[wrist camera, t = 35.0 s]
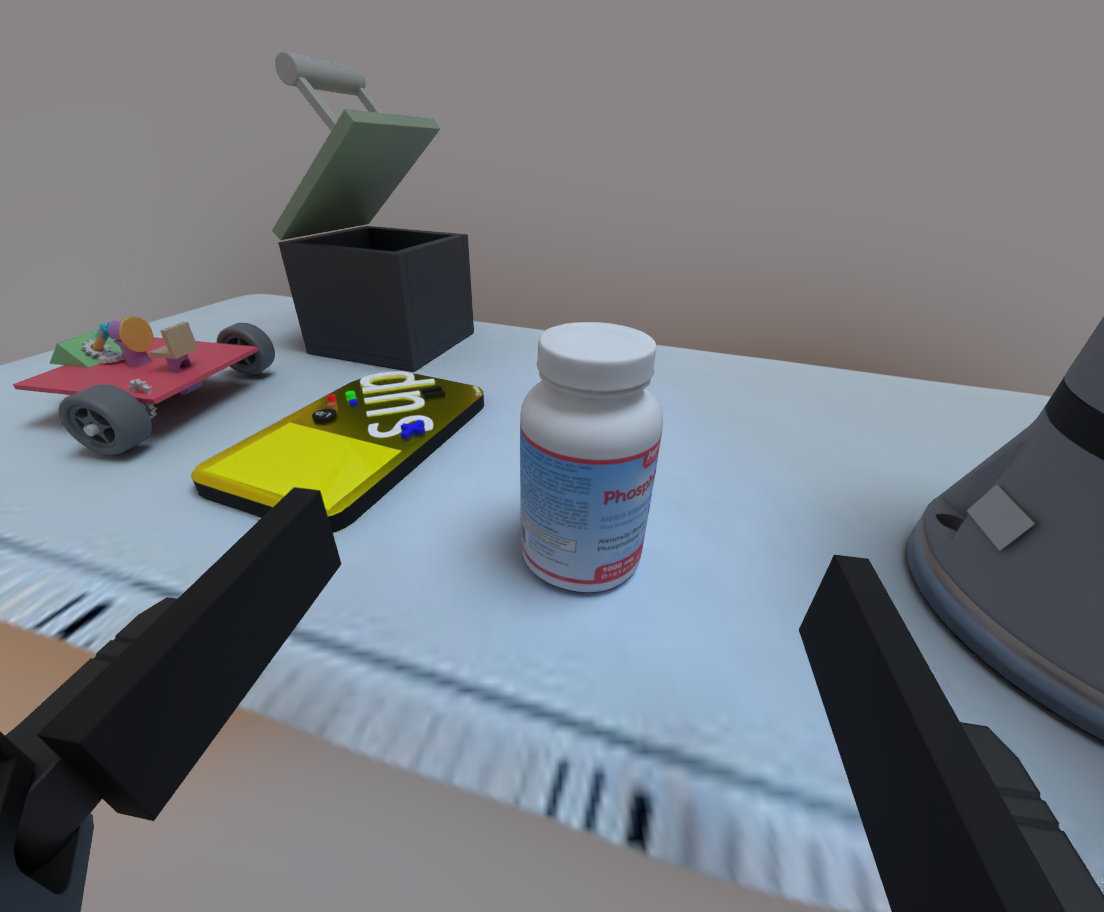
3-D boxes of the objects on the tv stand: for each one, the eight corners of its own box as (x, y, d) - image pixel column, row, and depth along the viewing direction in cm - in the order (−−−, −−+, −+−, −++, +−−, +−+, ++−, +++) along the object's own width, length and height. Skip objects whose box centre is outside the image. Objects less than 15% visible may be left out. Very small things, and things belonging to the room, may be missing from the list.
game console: (338, 542, 25) (332, 520, 24) (181, 493, 28) (171, 472, 27) (491, 400, 39) (490, 383, 38) (377, 378, 42) (374, 362, 41)
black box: (474, 332, 53) (468, 234, 48) (413, 372, 44) (397, 254, 38) (382, 319, 56) (366, 225, 51) (306, 353, 47) (277, 242, 41)
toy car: (137, 466, 30) (83, 364, 26) (-22, 446, 31) (-95, 347, 28) (286, 373, 43) (263, 295, 39) (167, 362, 44) (134, 286, 40)
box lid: (440, 128, 44) (380, 44, 42) (354, 121, 34) (270, 11, 32) (368, 224, 51) (314, 155, 49) (280, 240, 41) (208, 156, 39)
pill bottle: (621, 615, 21) (658, 382, 15) (500, 573, 23) (489, 351, 17) (652, 532, 26) (689, 328, 20) (549, 502, 28) (554, 309, 22)
